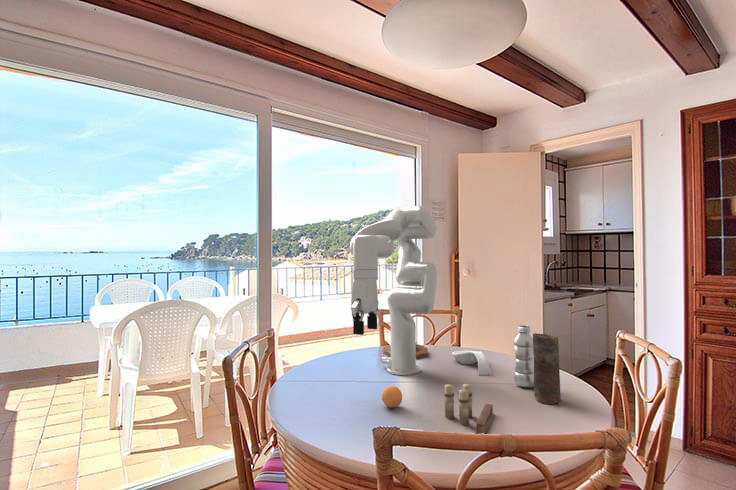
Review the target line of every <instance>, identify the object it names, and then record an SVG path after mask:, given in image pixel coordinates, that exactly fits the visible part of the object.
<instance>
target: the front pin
mask: <svg viewBox="0 0 736 490" xmlns="http://www.w3.org/2000/svg"><path fill="white" fill-rule="evenodd" d="M454 397H455V392H454V385H453V384H449V383H448V384H444V417H445V419H449V420H451V419H454V418H455V408H454V407H455V402H454V401H455V400H454V399H455V398H454Z"/></svg>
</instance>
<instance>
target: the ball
mask: <svg viewBox="0 0 736 490" xmlns="http://www.w3.org/2000/svg"><path fill="white" fill-rule="evenodd" d="M381 400H382V402H383V404H384V405H385V406H386V407H388V408H392V409H393V408H397V407H399V405H401V403H402V400H403V394H402V390H401V389H400V388H398V387H397V386H395V385H389V386H387V387H385V388H384V389H383V391H382V393H381Z"/></svg>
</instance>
